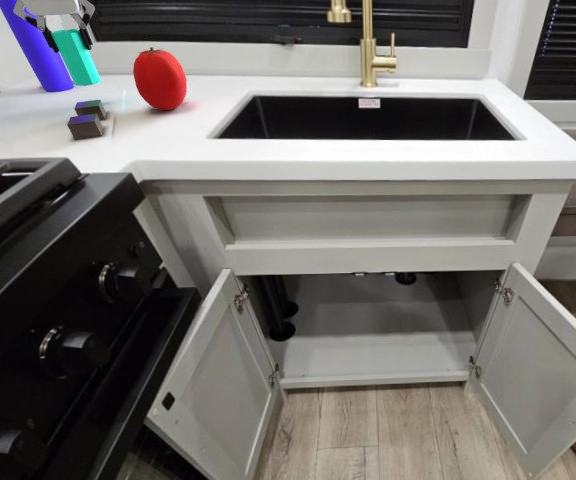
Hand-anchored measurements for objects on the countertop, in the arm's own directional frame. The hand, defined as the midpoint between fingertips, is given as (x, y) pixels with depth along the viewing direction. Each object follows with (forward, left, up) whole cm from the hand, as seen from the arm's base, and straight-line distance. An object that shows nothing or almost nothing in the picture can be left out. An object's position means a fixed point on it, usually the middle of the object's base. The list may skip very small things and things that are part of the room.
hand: (73, 49), depth 76 cm
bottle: (-13, +27, -13) cm, 33 cm away
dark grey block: (0, -22, -13) cm, 26 cm away
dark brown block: (0, -11, -13) cm, 17 cm away
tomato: (+17, -8, -13) cm, 23 cm away
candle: (0, 0, -7) cm, 7 cm away
